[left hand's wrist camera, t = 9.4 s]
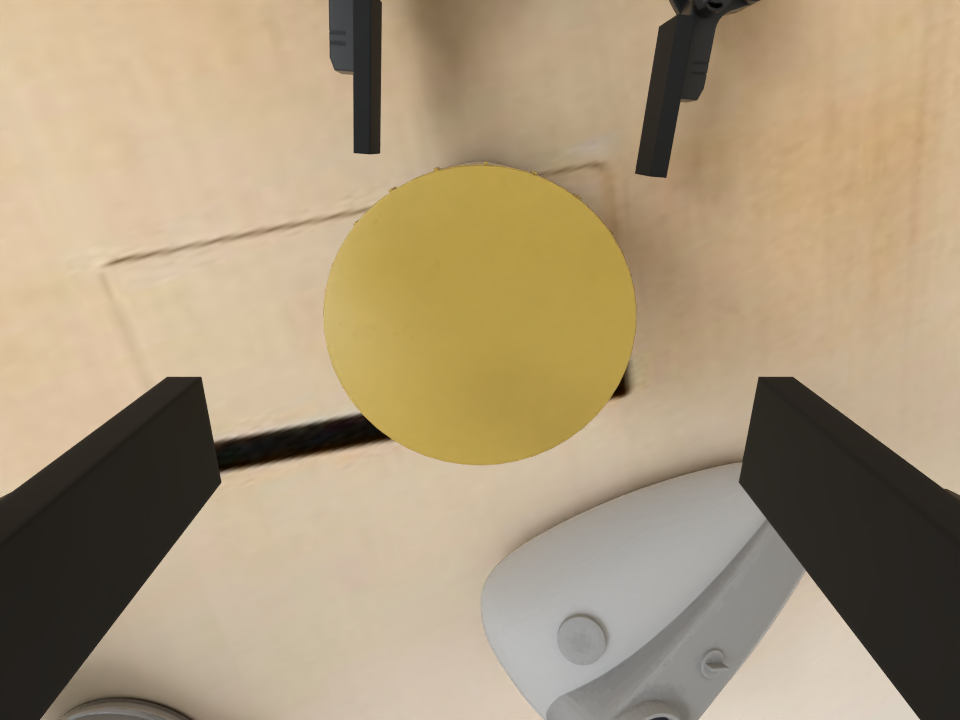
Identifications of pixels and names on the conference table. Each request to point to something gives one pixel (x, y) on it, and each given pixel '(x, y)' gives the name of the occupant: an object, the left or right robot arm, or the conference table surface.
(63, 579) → the left robot arm
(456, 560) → the conference table surface
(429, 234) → the lid
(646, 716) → the projector
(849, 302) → the conference table surface
